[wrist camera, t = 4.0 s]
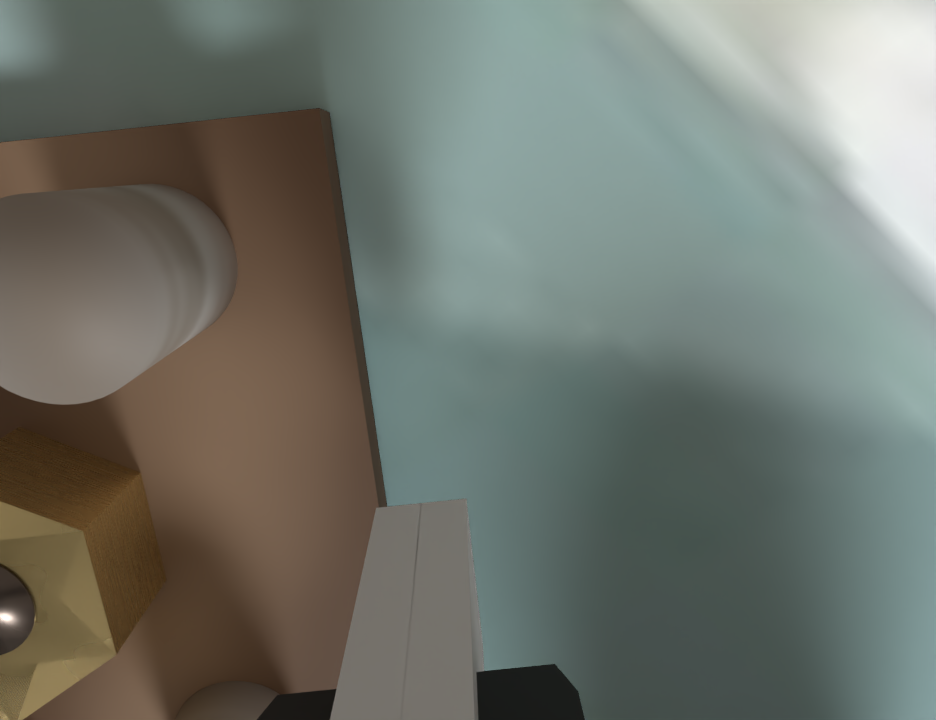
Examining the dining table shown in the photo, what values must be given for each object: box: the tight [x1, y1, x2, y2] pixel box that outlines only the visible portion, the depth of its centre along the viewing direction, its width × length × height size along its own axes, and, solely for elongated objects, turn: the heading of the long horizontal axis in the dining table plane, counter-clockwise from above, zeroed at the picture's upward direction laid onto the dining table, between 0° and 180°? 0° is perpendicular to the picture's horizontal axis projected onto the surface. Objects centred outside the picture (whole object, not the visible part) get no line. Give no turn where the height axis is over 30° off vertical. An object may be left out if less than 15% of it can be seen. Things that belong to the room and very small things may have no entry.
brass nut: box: [0, 427, 167, 720], centre depth 14 cm, size 4×5×2 cm
